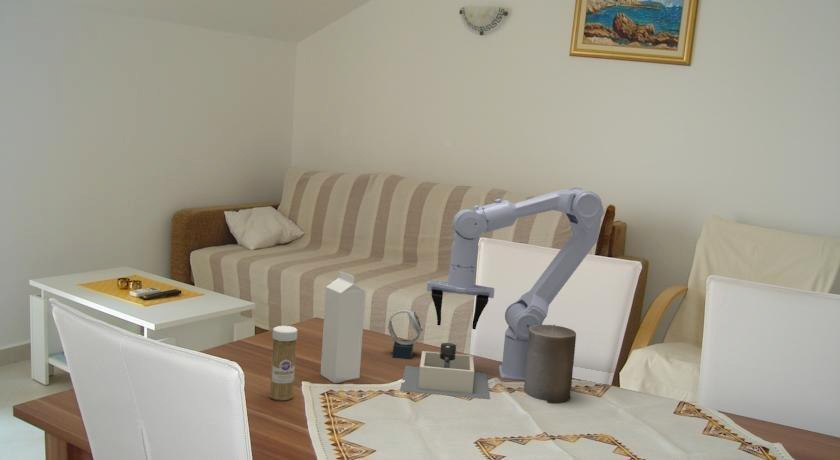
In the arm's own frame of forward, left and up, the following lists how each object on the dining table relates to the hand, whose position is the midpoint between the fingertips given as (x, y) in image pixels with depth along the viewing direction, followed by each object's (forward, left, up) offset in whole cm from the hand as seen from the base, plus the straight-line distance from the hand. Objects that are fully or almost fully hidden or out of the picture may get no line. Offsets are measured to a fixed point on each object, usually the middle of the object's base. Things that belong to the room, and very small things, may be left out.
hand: (456, 326), depth 161 cm
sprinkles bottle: (+32, +24, -11) cm, 42 cm away
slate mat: (+1, +8, -10) cm, 13 cm away
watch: (+11, -8, -11) cm, 18 cm away
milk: (+23, +10, -11) cm, 28 cm away
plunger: (+1, +8, -10) cm, 13 cm away
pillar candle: (-20, +9, -11) cm, 24 cm away
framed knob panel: (+1, +8, -10) cm, 13 cm away
